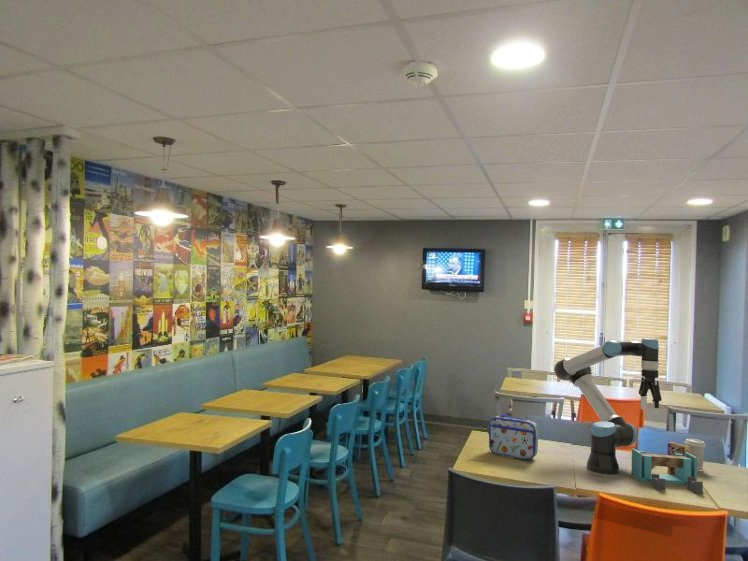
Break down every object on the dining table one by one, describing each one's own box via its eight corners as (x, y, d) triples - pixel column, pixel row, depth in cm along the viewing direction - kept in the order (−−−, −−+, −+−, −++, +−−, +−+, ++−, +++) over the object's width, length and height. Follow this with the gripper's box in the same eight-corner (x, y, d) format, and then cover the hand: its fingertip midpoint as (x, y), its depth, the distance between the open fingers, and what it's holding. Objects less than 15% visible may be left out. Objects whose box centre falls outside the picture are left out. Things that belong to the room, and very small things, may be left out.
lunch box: (484, 453, 273) (485, 413, 274) (490, 449, 282) (491, 410, 283) (534, 463, 258) (535, 421, 260) (539, 458, 267) (540, 417, 268)
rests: (658, 490, 225) (658, 478, 225) (651, 485, 232) (651, 473, 232) (702, 493, 223) (702, 482, 223) (694, 488, 230) (694, 477, 230)
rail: (641, 464, 240) (641, 455, 240) (637, 462, 244) (638, 453, 245) (689, 468, 237) (689, 459, 238) (685, 465, 242) (685, 456, 242)
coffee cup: (709, 473, 255) (709, 443, 255) (688, 471, 256) (688, 442, 257) (700, 467, 264) (700, 439, 265) (681, 465, 266) (681, 437, 267)
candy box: (689, 477, 247) (689, 446, 248) (684, 477, 245) (684, 446, 246) (672, 471, 255) (672, 441, 256) (667, 472, 253) (667, 442, 254)
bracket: (639, 480, 237) (639, 453, 238) (631, 474, 246) (631, 448, 247) (696, 485, 234) (696, 457, 235) (686, 478, 243) (686, 452, 244)
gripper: (669, 372, 235) (669, 417, 234) (646, 367, 260) (646, 407, 259) (653, 371, 236) (652, 416, 235) (632, 366, 261) (631, 406, 260)
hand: (649, 411), depth 247 cm, fingers open, 13 cm apart
